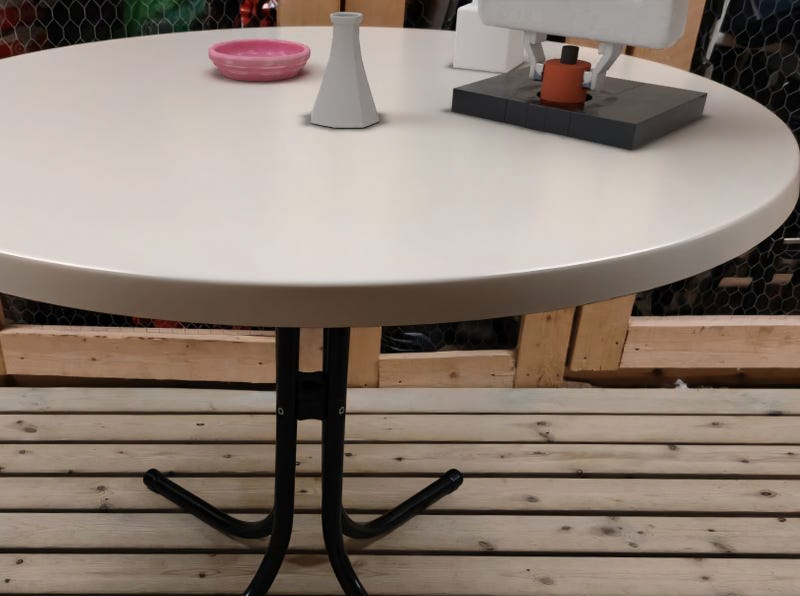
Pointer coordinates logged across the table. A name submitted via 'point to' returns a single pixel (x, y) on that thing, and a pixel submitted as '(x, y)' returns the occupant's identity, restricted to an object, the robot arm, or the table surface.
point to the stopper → (565, 77)
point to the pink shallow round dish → (259, 59)
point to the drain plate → (583, 108)
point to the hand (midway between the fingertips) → (565, 85)
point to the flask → (345, 80)
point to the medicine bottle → (485, 43)
